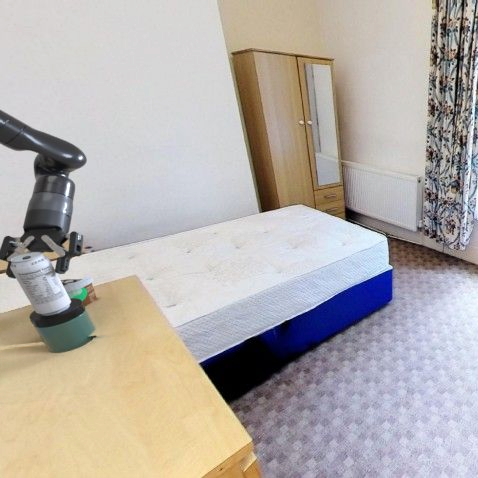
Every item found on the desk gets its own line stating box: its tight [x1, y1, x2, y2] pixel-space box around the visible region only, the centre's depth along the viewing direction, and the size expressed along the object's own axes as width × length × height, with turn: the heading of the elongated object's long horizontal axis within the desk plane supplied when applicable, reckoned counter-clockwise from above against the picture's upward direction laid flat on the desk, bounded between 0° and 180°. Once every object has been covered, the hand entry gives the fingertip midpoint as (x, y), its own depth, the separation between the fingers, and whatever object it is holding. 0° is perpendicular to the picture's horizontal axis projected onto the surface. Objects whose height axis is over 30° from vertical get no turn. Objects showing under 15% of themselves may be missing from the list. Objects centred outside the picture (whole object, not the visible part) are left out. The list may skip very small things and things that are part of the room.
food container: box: [60, 275, 98, 307], centre depth 93 cm, size 12×6×10 cm, turn 106°
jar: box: [33, 307, 97, 354], centre depth 83 cm, size 9×9×10 cm
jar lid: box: [28, 298, 86, 327], centre depth 81 cm, size 9×9×2 cm
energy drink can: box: [10, 252, 71, 316], centre depth 77 cm, size 6×6×15 cm
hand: (37, 275), depth 76 cm, fingers open, 8 cm apart
